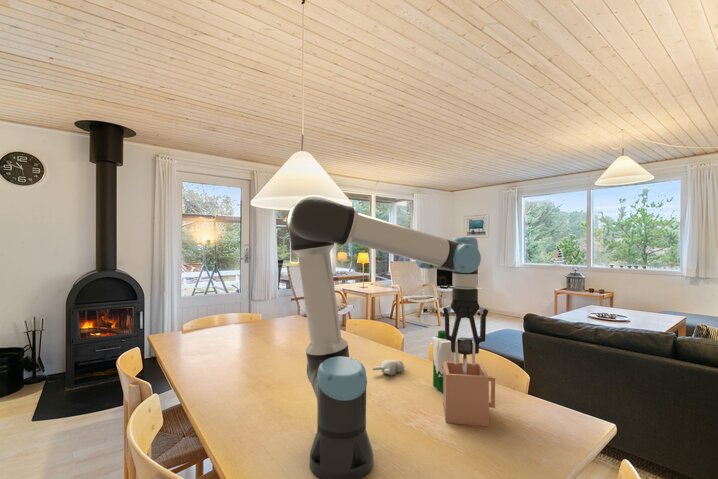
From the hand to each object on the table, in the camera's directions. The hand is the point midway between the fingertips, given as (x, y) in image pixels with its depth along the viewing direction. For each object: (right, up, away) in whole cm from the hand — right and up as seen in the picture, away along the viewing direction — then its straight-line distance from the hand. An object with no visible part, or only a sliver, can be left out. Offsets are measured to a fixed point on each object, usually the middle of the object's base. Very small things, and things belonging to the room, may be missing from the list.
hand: (464, 363), depth 110 cm
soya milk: (-1, -16, +19) cm, 25 cm away
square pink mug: (+1, -16, 0) cm, 16 cm away
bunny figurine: (-20, -16, +34) cm, 43 cm away
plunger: (0, -14, 0) cm, 14 cm away
